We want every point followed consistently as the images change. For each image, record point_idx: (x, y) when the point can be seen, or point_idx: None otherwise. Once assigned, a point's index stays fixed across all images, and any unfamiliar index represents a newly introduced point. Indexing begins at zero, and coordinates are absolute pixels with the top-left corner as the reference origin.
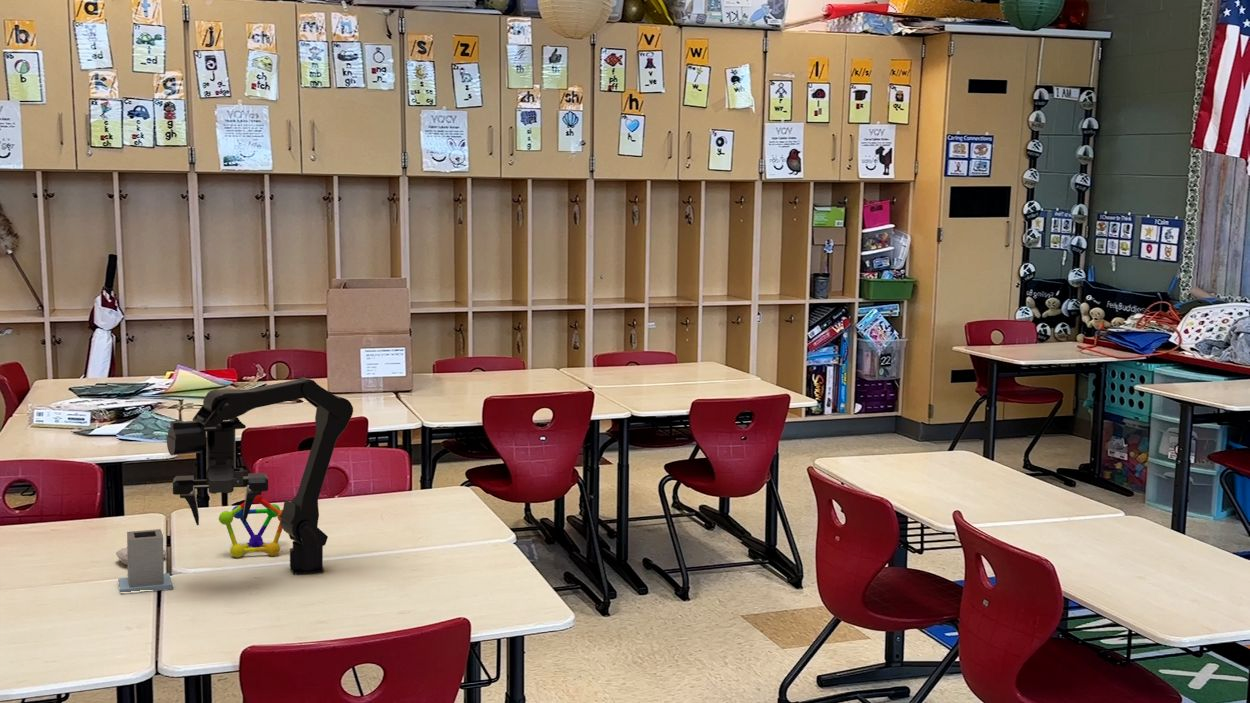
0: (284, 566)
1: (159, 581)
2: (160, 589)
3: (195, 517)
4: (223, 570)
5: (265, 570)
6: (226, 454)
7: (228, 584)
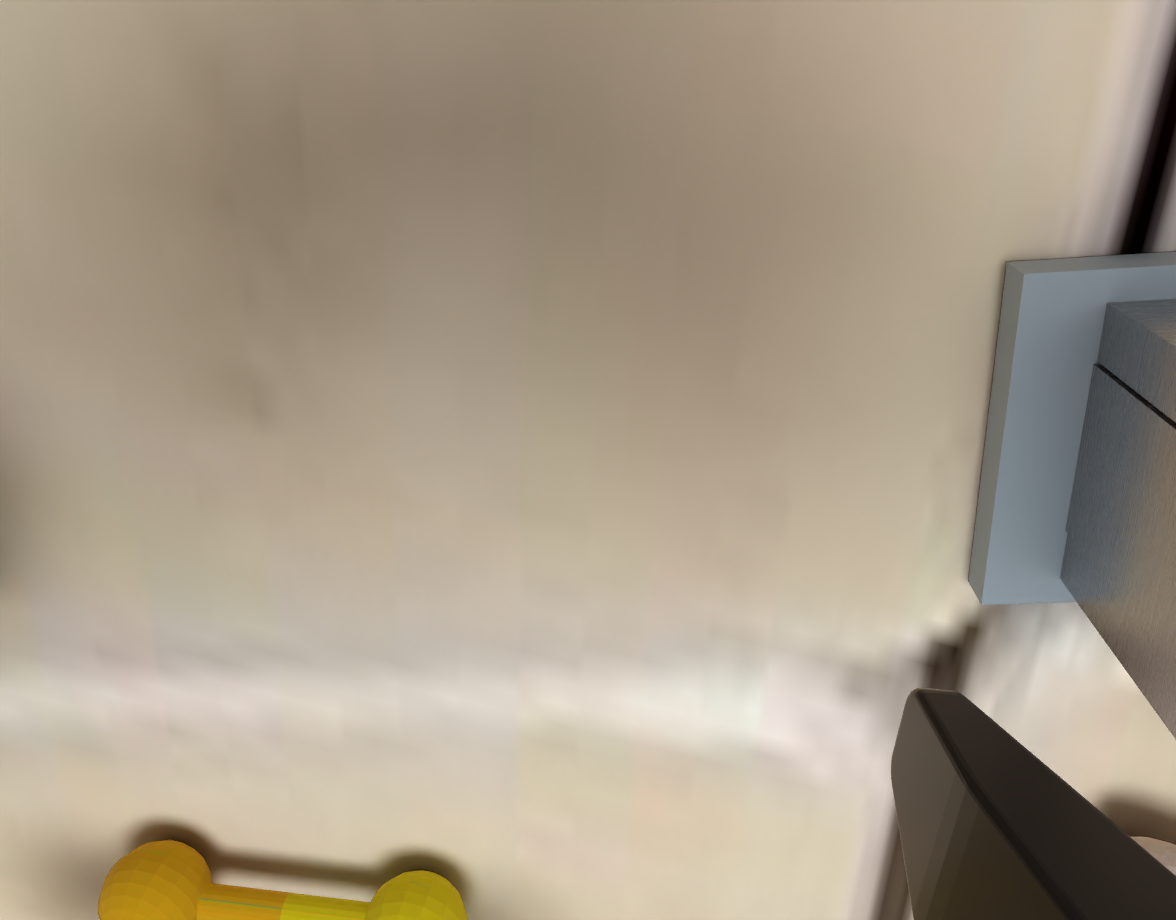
0: (57, 614)
1: (1166, 309)
2: (1130, 255)
3: (1078, 814)
4: (526, 645)
5: (195, 560)
6: None
7: (490, 267)
